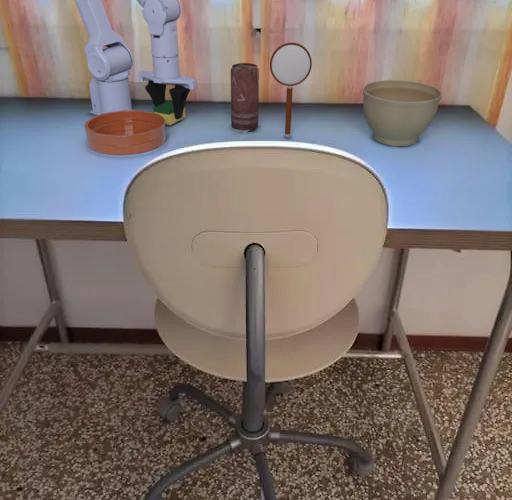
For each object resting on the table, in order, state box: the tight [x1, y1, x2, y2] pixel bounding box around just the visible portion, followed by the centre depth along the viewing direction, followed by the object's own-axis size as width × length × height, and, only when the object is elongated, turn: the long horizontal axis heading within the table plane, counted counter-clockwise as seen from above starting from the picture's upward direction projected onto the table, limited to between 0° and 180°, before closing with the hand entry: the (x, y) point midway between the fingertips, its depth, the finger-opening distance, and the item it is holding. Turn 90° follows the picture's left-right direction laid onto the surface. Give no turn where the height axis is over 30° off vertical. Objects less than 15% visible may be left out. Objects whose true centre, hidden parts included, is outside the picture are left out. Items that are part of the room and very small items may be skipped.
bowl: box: [83, 109, 167, 156], centre depth 114 cm, size 16×16×4 cm
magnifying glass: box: [269, 42, 313, 139], centre depth 114 cm, size 9×2×20 cm, turn 92°
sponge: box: [153, 100, 187, 126], centre depth 124 cm, size 6×4×3 cm, turn 153°
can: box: [230, 62, 260, 133], centre depth 120 cm, size 6×6×14 cm
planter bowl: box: [362, 79, 443, 147], centre depth 116 cm, size 16×16×11 cm
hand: (170, 116), depth 124 cm, fingers closed on sponge, 4 cm apart
